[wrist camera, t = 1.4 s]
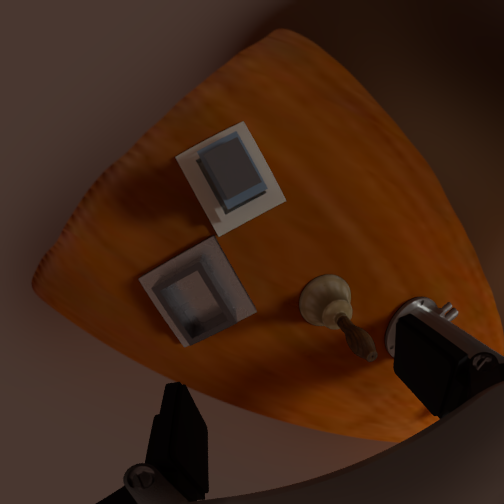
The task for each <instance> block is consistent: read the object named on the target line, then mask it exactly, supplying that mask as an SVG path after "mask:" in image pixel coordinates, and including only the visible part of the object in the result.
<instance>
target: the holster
mask: <svg viewBox="0 0 504 504" xmlns="http://www.w3.org/2000/svg"><path fill="white" fill-rule="evenodd" d="M235 131H237V133H238V135H239V136H240V138H241V140H242V142H243V143H244V145H245V147H246V149H247V151H248V153H249V154H250V156H251V158H252V160H253V162H254V164H255V165H256V167H257V169H258V171H259V173H260V175H261V177H262V178H263V180H264V182H265V184H266V186H267V188H268V189H266V190H264V191H262V192H260V193H258V194H257V195H255V196H253V197H251V198H249V199H247V200H245V201H243V202H241V203H240V204H238V205H236V206H234V207H232V208H230V209H228V208H227V206H226V205H225V203H224V201H223V199H222V197H221V195H220V194H219V192H218V190H217V188H216V186H215V184H214V183H213V181H212V179H211V177H210V175H209V173H208V172H207V170H206V168H205V166H204V164H203V162H202V161H201V159H200V157H199V155H198V153H197V151H199V150H200V149H202V148H204V147H206V146H208V145H210V144H212V143H214V142H215V141H217V140H219V139H221V138H223V137H225V136H227V135H229V134H231V133H233V132H235ZM175 158H176V160H177V161H178V163H179V165H180V167H181V169H182V171H183V173H184V174H185V176H186V178H187V180H188V182H189V184H190V186H191V187H192V189H193V191H194V193H195V195H196V197H197V198H198V200H199V202H200V204H201V206H202V208H203V209H204V211H205V213H206V215H207V217H208V218H209V220H210V222H211V224H212V226H213V227H214V229H215V231H216V233H217V235H218V236H221V235H223V234H225V233H227V232H229V231H230V230H232V229H234V228H236V227H238V226H240V225H241V224H243V223H245V222H247V221H249V220H251V219H253V218H254V217H256V216H258V215H260V214H262V213H264V212H266V211H268V210H270V209H271V208H273V207H275V206H277V205H279V204H281V203H283V202H285V201H286V199H285V197H284V195H283V193H282V191H281V189H280V187H279V185H278V183H277V182H276V180H275V178H274V176H273V174H272V172H271V170H270V168H269V166H268V165H267V163H266V161H265V159H264V157H263V155H262V153H261V152H260V150H259V148H258V146H257V144H256V143H255V141H254V139H253V137H252V135H251V134H250V132H249V130H248V128H247V127H246V125H245V123H244V121H243V122H241V123H239V124H237V125H234V126H232V127H230V128H228V129H226V130H224V131H222V132H220V133H218V134H216V135H214V136H213V137H211V138H209V139H207V140H205V141H203V142H201V143H199V144H197V145H196V146H194V147H192V148H190V149H188V150H187V151H185V152H183V153H181V154H180V155H178V156H176V157H175Z"/></svg>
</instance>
